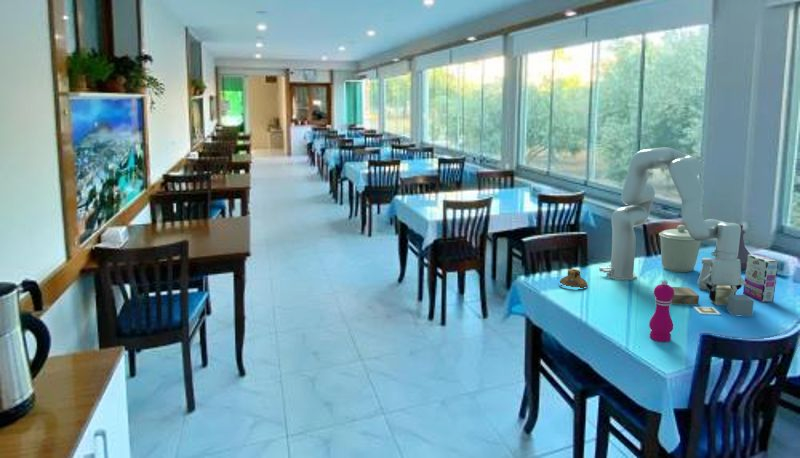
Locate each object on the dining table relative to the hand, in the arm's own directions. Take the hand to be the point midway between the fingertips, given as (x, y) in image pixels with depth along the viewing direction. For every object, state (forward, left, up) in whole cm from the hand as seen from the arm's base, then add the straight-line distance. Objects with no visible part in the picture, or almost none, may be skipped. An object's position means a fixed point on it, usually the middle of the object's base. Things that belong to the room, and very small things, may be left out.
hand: (721, 300), depth 216 cm
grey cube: (+2, -11, -1) cm, 11 cm away
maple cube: (0, 0, -1) cm, 1 cm away
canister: (-2, +45, -1) cm, 45 cm away
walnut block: (-15, +2, -1) cm, 15 cm away
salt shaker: (0, +17, -1) cm, 17 cm away
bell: (-53, +16, -1) cm, 56 cm away
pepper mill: (-33, -38, -1) cm, 50 cm away
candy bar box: (+16, +7, -1) cm, 18 cm away
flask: (+25, +51, -1) cm, 57 cm away
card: (-9, -10, -1) cm, 14 cm away
